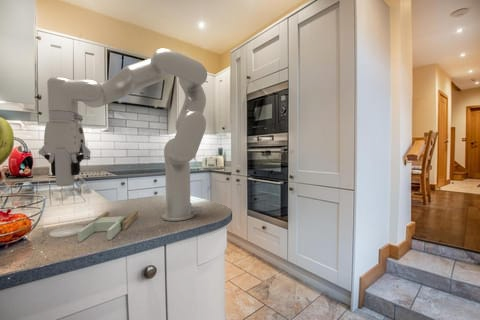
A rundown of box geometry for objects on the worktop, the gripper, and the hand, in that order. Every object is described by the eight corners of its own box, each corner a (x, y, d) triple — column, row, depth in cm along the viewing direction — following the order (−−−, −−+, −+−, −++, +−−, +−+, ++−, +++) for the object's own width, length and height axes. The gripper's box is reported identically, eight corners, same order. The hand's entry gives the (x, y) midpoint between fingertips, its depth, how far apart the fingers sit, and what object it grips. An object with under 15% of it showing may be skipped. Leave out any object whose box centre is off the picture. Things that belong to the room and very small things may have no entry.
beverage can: (63, 184, 76) (61, 148, 75) (78, 184, 76) (76, 148, 75) (51, 186, 71) (50, 147, 70) (68, 186, 71) (66, 147, 71)
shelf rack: (138, 216, 92) (138, 210, 92) (125, 229, 77) (125, 222, 77) (105, 218, 90) (105, 212, 90) (87, 231, 75) (86, 224, 75)
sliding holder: (126, 224, 82) (126, 216, 82) (111, 239, 68) (110, 229, 68) (99, 225, 80) (98, 217, 80) (77, 241, 67) (77, 231, 66)
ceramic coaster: (89, 226, 80) (89, 224, 80) (75, 236, 71) (75, 234, 71) (60, 228, 78) (60, 226, 78) (42, 238, 69) (42, 235, 69)
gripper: (98, 120, 78) (99, 173, 79) (42, 119, 75) (44, 174, 76) (87, 117, 71) (89, 175, 71) (24, 116, 68) (27, 177, 69)
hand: (65, 174), depth 74 cm, fingers closed on beverage can, 4 cm apart
